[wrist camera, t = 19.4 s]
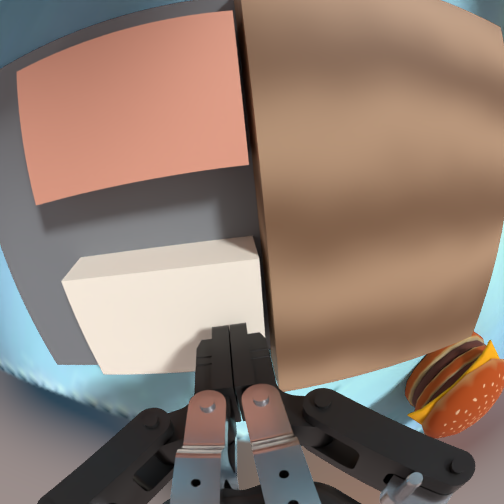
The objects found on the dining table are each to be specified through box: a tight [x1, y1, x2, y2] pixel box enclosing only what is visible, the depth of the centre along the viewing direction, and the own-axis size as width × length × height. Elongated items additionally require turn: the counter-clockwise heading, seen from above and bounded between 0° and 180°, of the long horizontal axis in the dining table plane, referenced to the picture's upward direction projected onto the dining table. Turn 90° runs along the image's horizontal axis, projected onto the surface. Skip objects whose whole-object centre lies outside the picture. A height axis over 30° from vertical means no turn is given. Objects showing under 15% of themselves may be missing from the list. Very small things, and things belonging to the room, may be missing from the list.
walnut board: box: [234, 0, 504, 392], centre depth 13 cm, size 20×14×3 cm
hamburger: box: [405, 331, 504, 438], centre depth 19 cm, size 9×10×7 cm
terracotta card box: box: [17, 10, 249, 205], centre depth 10 cm, size 6×9×2 cm, turn 96°
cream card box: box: [61, 236, 265, 374], centre depth 14 cm, size 6×9×2 cm, turn 95°
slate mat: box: [0, 0, 271, 365], centre depth 13 cm, size 19×15×1 cm
